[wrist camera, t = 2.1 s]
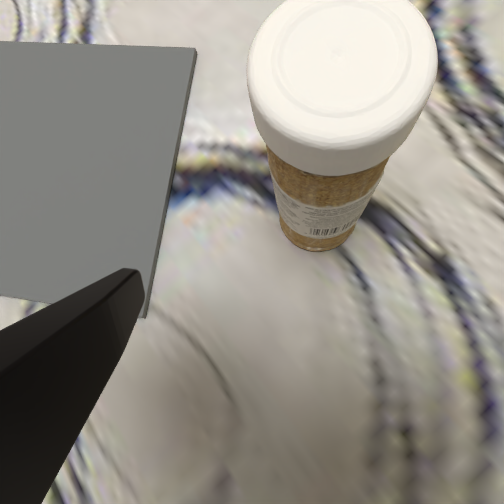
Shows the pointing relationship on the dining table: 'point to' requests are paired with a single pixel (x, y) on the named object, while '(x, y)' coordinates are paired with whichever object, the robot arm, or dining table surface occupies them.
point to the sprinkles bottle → (336, 105)
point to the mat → (86, 161)
